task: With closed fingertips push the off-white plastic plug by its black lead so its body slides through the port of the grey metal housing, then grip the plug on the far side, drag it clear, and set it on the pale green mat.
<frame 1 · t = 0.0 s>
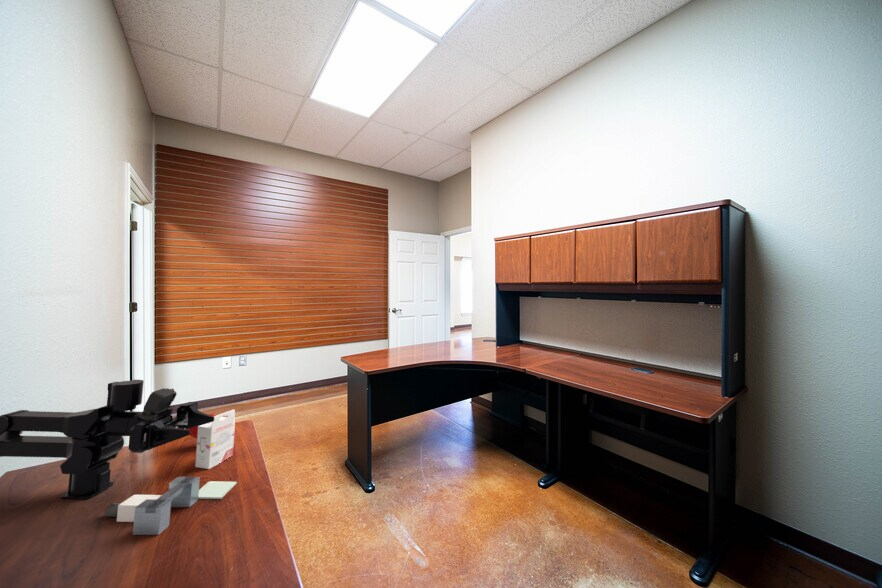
hand: (202, 425, 82), 17 cm above the table, tool horizontal, fingers open, 9 cm apart
housing: (170, 515, 72), on the table
plug: (139, 515, 72), on the table
ink cartridge box: (214, 462, 97), on the table
mat: (214, 490, 82), on the table
red rounded lobed piece: (201, 447, 106), on the table
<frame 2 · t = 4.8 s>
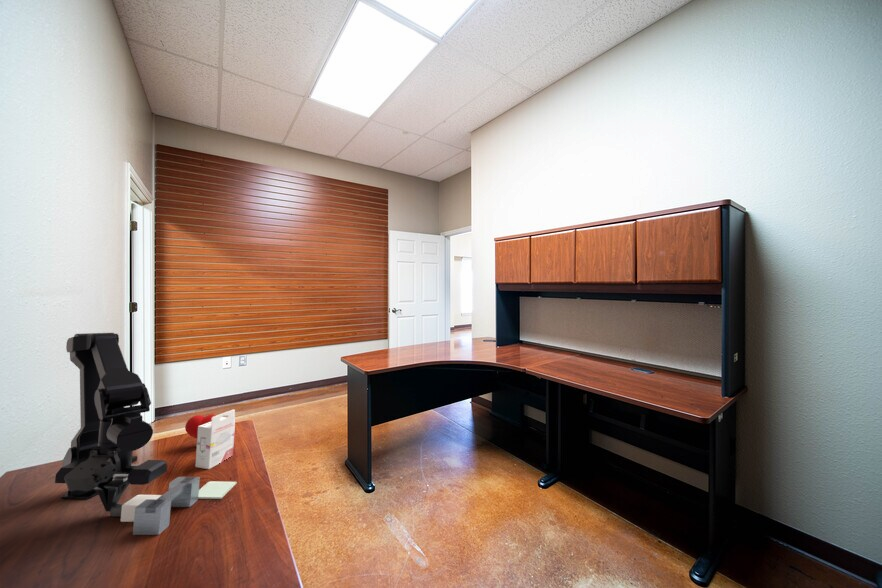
hand: (109, 510, 71), 1 cm above the table, tool pointing down, fingers closed
plug: (143, 515, 72), on the table, touching gripper
everything else where it was.
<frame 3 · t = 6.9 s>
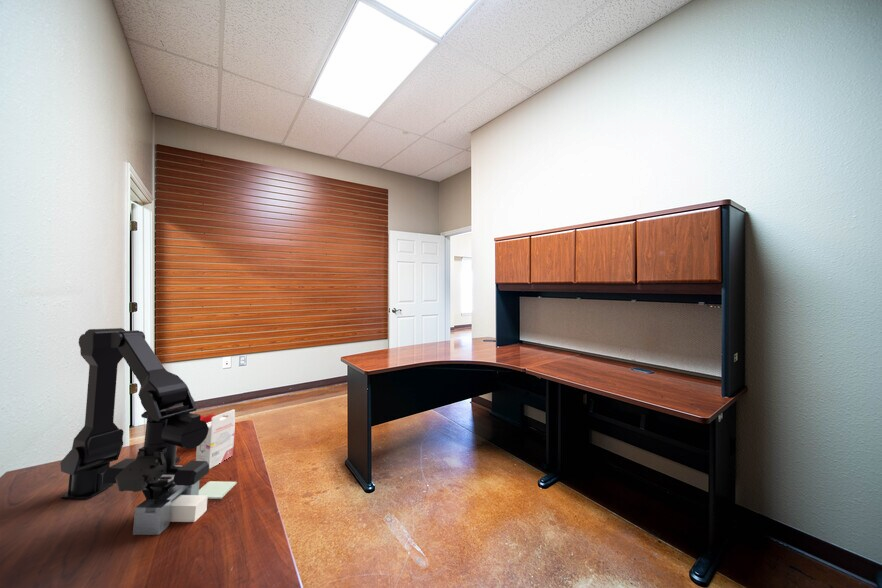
hand: (154, 510, 72), 1 cm above the table, tool pointing down, fingers closed
plug: (186, 515, 73), on the table, touching gripper
everything else where it was.
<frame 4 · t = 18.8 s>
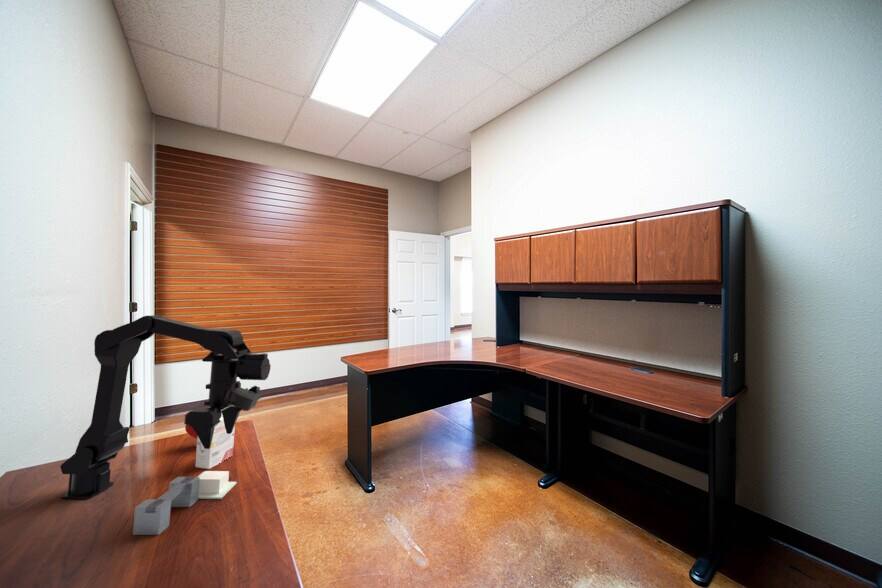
hand: (218, 440, 83), 12 cm above the table, tool pointing down, fingers open, 9 cm apart
plug: (211, 488, 82), on the table, touching mat
everything else where it was.
at the end: plug inside the target area on the mat (1.0 cm from its centre), point 0.4 cm above the mat's base; plug inside the target area (8.9 cm from its centre), on the table; the gripper is holding nothing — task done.
